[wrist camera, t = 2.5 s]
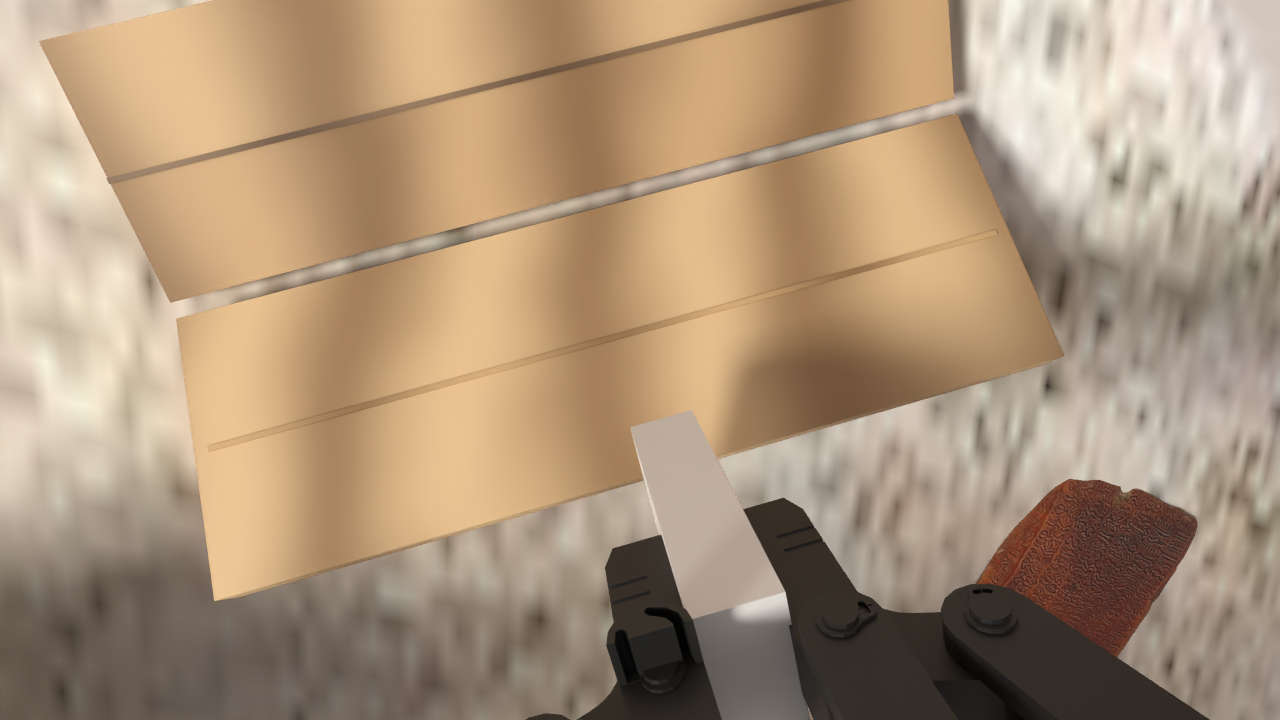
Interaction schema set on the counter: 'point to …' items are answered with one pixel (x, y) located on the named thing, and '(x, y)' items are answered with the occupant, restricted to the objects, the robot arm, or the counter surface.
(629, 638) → the robot arm
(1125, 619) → the wooden tablet
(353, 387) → the plank
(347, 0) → the laid boards
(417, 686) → the counter surface
